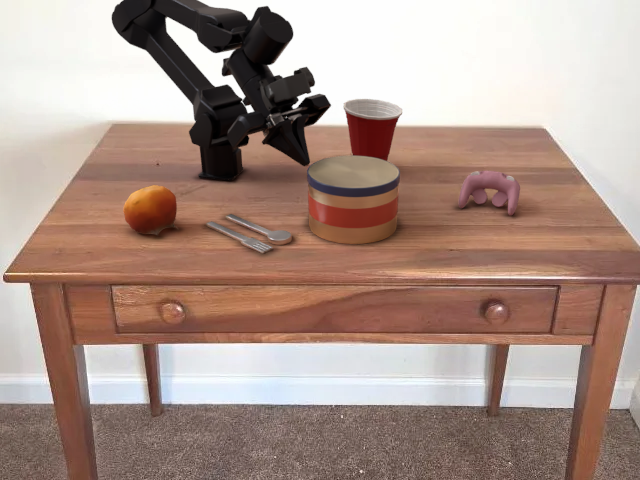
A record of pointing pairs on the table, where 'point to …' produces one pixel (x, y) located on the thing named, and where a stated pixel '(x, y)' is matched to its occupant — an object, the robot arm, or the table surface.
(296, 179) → the table surface
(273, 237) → the spoon
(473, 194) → the video game controller
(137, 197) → the fruit
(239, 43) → the robot arm
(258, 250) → the fork
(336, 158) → the tin
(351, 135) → the plastic cup
